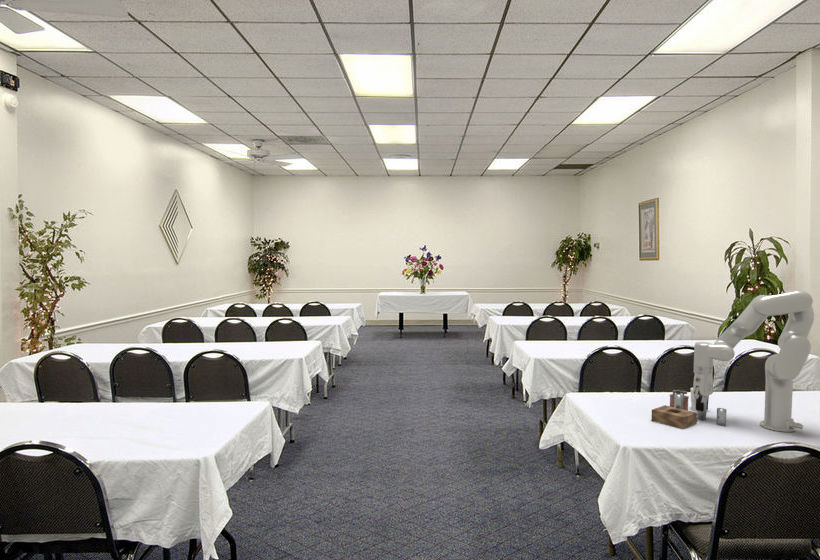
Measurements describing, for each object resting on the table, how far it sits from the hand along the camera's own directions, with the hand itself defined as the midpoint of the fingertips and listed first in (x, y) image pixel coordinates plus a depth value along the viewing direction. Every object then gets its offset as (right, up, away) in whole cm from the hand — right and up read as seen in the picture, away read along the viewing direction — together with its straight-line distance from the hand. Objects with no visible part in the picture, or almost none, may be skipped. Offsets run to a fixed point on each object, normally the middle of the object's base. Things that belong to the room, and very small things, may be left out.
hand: (701, 409), depth 234 cm
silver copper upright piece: (-4, -4, +12) cm, 13 cm away
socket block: (-15, -4, -5) cm, 17 cm away
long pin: (0, -4, 0) cm, 4 cm away
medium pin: (-9, -4, +3) cm, 10 cm away
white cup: (+7, -4, +14) cm, 16 cm away
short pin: (+4, -5, -8) cm, 10 cm away
